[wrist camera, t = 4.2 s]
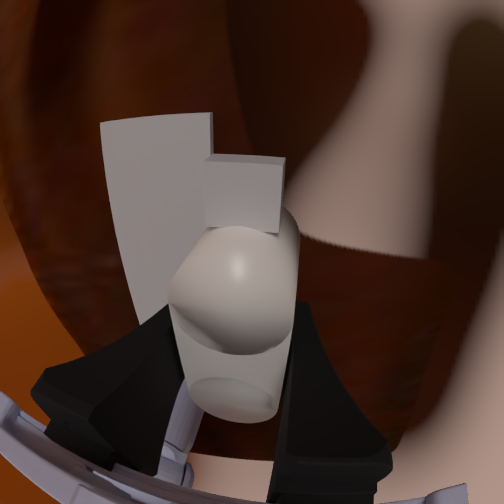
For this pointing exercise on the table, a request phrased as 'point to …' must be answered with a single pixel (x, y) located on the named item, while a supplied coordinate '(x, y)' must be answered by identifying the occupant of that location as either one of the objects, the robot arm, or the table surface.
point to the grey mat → (156, 197)
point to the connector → (238, 290)
